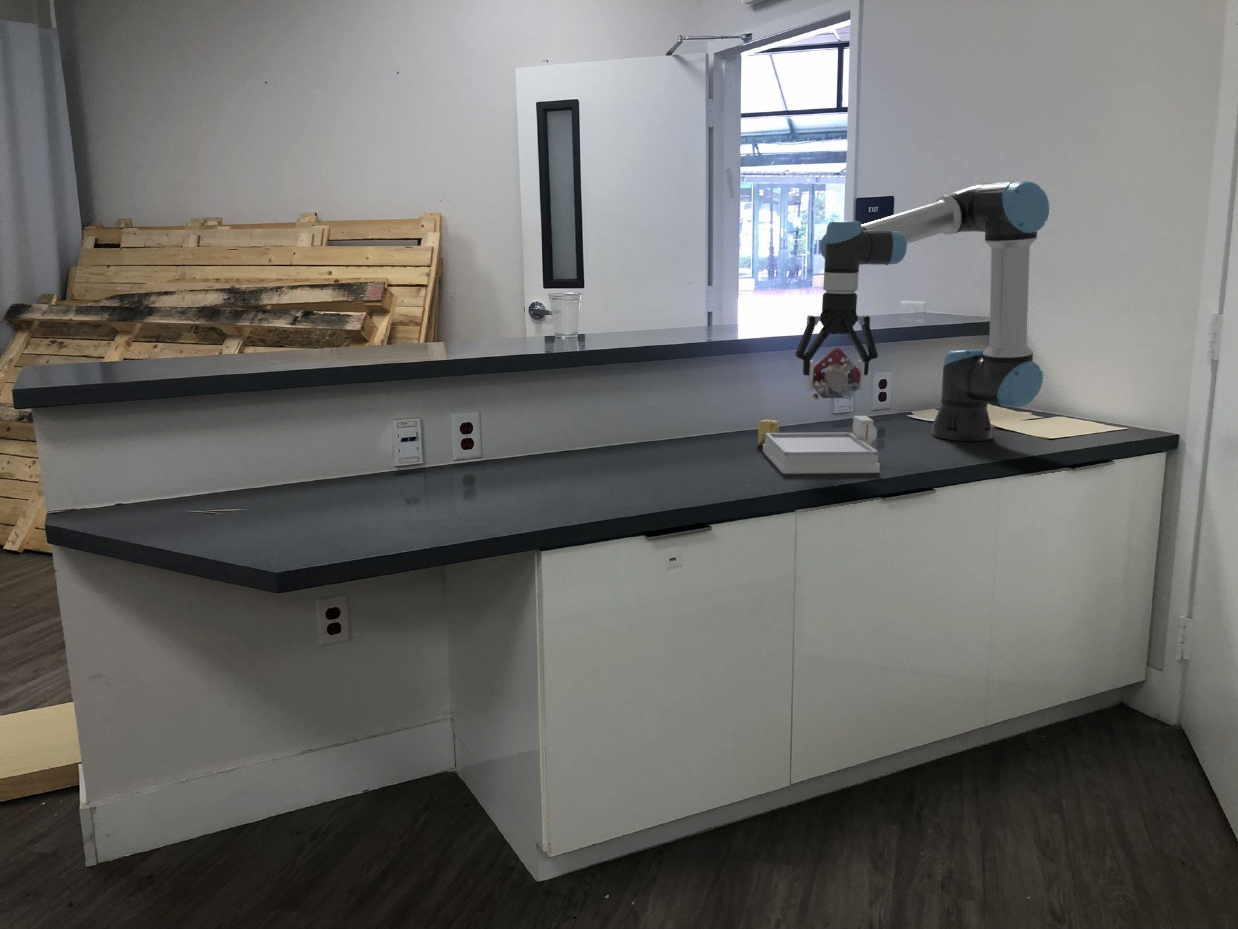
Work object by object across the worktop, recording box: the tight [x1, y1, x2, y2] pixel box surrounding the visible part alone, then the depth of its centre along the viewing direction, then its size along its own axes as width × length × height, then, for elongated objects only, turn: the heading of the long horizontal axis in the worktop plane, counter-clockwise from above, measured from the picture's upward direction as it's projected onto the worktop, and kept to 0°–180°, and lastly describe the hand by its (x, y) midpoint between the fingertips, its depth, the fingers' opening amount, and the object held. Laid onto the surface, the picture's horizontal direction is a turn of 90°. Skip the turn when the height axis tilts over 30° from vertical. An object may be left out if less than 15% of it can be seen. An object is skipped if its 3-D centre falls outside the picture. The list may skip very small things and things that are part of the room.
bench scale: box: [762, 415, 881, 475], centre depth 227 cm, size 26×22×9 cm
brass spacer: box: [757, 419, 780, 448], centre depth 245 cm, size 5×5×6 cm
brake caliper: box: [810, 347, 860, 401], centre depth 219 cm, size 11×11×12 cm
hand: (834, 389), depth 221 cm, fingers closed on brake caliper, 11 cm apart
